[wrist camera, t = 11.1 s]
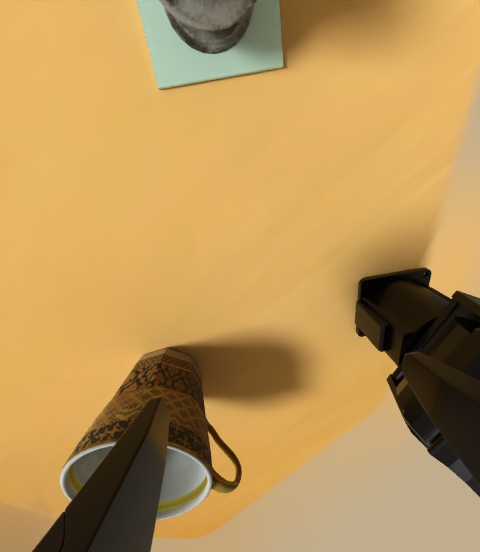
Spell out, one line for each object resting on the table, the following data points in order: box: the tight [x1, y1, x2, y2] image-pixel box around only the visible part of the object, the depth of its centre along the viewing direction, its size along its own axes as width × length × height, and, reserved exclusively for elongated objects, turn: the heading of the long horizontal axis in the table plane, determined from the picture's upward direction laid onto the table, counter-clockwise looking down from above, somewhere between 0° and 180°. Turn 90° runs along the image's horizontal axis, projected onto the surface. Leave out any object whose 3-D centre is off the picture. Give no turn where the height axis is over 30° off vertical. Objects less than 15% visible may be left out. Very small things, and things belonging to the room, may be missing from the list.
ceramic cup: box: [60, 348, 242, 520], centre depth 21 cm, size 13×10×10 cm
